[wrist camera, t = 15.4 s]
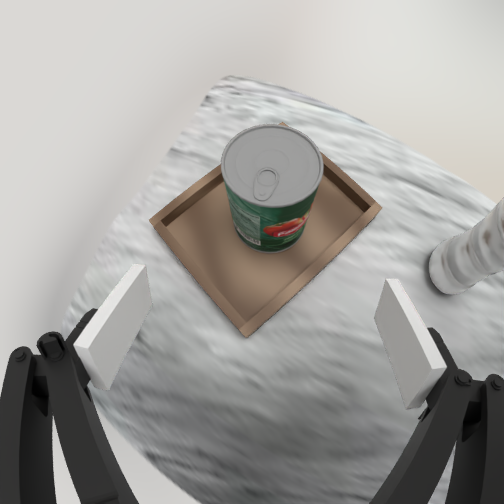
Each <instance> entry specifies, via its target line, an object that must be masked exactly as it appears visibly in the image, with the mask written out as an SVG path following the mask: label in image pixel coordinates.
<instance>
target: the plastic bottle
mask: <svg viewBox="0 0 504 504" xmlns="http://www.w3.org/2000/svg"><path fill="white" fill-rule="evenodd" d="M503 270H504V198H503V199H502V200H501V201H500V202H499V203H498V204H497V205H496V206H495V208H494V209H493V210H492V211H491V212H490V213H489V214H488V215H487V216H486V217H485V218H484V219H483V220H481V221H480V222H479V223H478V224H477V225H475V226H474V227H473V228H471V229H469V230H468V231H466V232H464V233H462V234H460V235H458V236H454V237H451V238H449V239H447V240H444V241H443V242H441V243H440V244H439V245H438V246H437V247H436V249H435V250H434V251H433V253H432V254H431V257H430V261H429V273H430V277H431V280H432V282H433V284H434V285H435V286H436V287H437V288H438V289H439V290H440V291H441V292H443V293H445V294H460V293H463V292H465V291H466V290H468V289H469V288H471V287H472V286H474V285H475V284H476V283H477V282H479V281H481V280H483V279H484V278H486V277H488V276H490V275H492V274H495V273H497V272H501V271H503Z"/></svg>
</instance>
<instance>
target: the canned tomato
mask: <svg viewBox="0 0 504 504" xmlns="http://www.w3.org/2000/svg"><path fill="white" fill-rule="evenodd" d="M221 172H222V176H223V178H224V183H225V187H226V192H227V196H228V201H229V205H230V209H231V214H232V218H233V224H234V228H235V231H236V233H237V235H238V237H239V238H240V240H241V241H242V242H243V243H244V244H245V245H247V246H248V247H249V248H251V249H253V250H255V251H258V252H261V253H278V252H282V251H285V250H287V249H289V248H291V247H292V246H293V245H295V244H296V243H297V241H298V240H299V239H300V238H301V236H302V234H303V232H304V229H305V226H306V223H307V220H308V217H309V214H310V211H311V208H312V205H313V202H314V199H315V196H316V193H317V190H318V186H319V183H320V181H321V179H322V175H323V159H322V155H321V153H320V151H319V149H318V147H317V146H316V145H315V143H314V142H313V141H312V140H311V139H310V138H309V137H308V136H306V135H305V134H303V133H302V132H300V131H298V130H296V129H293V128H291V127H287V126H284V125H277V124H263V125H258V126H254V127H251V128H248V129H246V130H244V131H242V132H240V133H238V134H237V135H236V136H235V137H234V138H232V139H231V141H230V142H229V143H228V144H227V145H226V147H225V149H224V151H223V154H222V158H221Z"/></svg>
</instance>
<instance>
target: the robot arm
mask: <svg viewBox="0 0 504 504" xmlns="http://www.w3.org/2000/svg"><path fill="white" fill-rule="evenodd" d="M152 306H153V303H152V298H151V293H150V287H149V282H148V276H147V270H146V265H141V264H133V265H132V266H131V268H130V269H129V270H128V271H127V273H126V274H125V275H124V276H123V278H122V279H121V280H120V282H119V283H118V284H117V285H116V287H115V288H114V289H113V291H112V292H111V293H110V295H109V296H108V297H107V299H106V300H105V301H104V302H103V304H102V305H101V307H100V308H99V309H94V308H93V309H91V310H90V311H89V312H87V313H86V314H85V315H84V316H83V317H82V319H81V320H80V322H79V323H78V324H77V325H76V328H74V330H73V331H72V332H71V334H70V335H69V336H68V338H67V339H66V341H64V339H63V337H62V335H61V334H60V333H58V332H48V333H46V334H44V335H42V336H41V337H40V338H39V340H38V341H37V348H38V349H39V351H40V353H41V355H33V353H32V352H31V350H30V349H29V348H28V347H24V346H22V347H19V348H17V349H15V350H14V351H13V352H12V353H11V355H10V358H9V362H8V365H7V369H6V374H5V378H4V382H3V387H2V392H1V397H0V504H57V503H56V495H55V485H54V472H53V451H52V419H53V416H54V420H55V425H56V429H57V433H58V436H59V440H60V444H61V447H62V451H63V454H64V457H65V460H66V464H67V467H68V470H69V473H70V475H71V478H72V481H73V484H74V487H75V489H76V492H77V494H78V497H79V499H80V502H81V504H139V503H138V501H137V499H136V498H135V496H134V494H133V492H132V490H131V488H130V487H129V485H128V483H127V481H126V479H125V477H124V475H123V473H122V471H121V469H120V467H119V464H118V463H117V460H116V458H115V456H114V454H113V451H112V449H111V447H110V444H109V442H108V440H107V437H106V435H105V432H104V430H103V427H102V425H101V422H100V419H99V417H98V414H97V411H96V408H95V405H94V402H93V399H92V396H91V393H90V390H89V388H88V386H87V384H88V383H89V381H90V380H91V382H92V384H93V385H94V387H95V388H99V389H102V390H106V391H109V389H110V387H111V385H112V383H113V381H114V379H115V377H116V374H117V372H118V370H119V368H120V366H121V364H122V363H123V361H124V359H125V357H126V355H127V353H128V351H129V349H130V347H131V345H132V343H133V341H134V339H135V337H136V335H137V334H138V332H139V330H140V328H141V326H142V324H143V322H144V320H145V319H146V317H147V315H148V313H149V311H150V309H151V308H152ZM374 320H375V322H376V325H377V327H378V330H379V333H380V335H381V338H382V340H383V343H384V346H385V349H386V351H387V354H388V357H389V360H390V362H391V365H392V368H393V371H394V374H395V377H396V380H397V383H398V386H399V389H400V392H401V395H402V398H403V401H404V405H405V408H406V409H412V408H418V407H420V406H421V405H422V404H423V402H424V401H425V399H426V401H427V404H428V406H427V408H426V409H425V410H424V412H423V413H422V414H421V415H420V417H419V418H418V419H419V420H420V421H419V423H418V425H417V427H416V429H415V431H414V433H413V435H412V437H411V439H410V440H409V442H408V444H407V446H406V448H405V449H404V451H403V453H402V455H401V456H400V458H399V460H398V461H397V463H396V465H395V466H394V468H393V470H392V471H391V473H390V474H389V476H388V477H387V479H386V480H385V482H384V483H383V485H382V486H381V488H380V489H379V491H378V492H377V494H376V495H375V496H374V498H373V499H372V501H371V502H370V503H369V504H427V503H428V501H429V500H430V498H431V496H432V494H433V492H434V490H435V488H436V486H437V484H438V482H439V480H440V478H441V476H442V473H443V471H444V469H445V467H446V464H447V462H448V460H449V457H450V455H451V452H452V450H453V447H454V445H455V442H456V449H455V456H454V462H453V468H452V474H451V479H450V484H449V489H448V493H447V497H446V502H445V504H504V379H503V378H502V377H500V376H499V375H497V374H491V375H489V376H488V377H487V378H486V380H485V381H478V380H473V379H472V377H471V376H470V375H469V373H467V372H466V371H464V370H461V369H458V368H457V366H456V364H455V362H454V360H453V358H452V356H451V354H450V352H449V350H448V349H447V347H446V345H445V343H443V342H444V341H443V340H442V338H441V336H440V334H439V333H438V332H437V331H436V330H435V329H433V328H426V326H425V324H424V322H423V320H422V319H421V317H420V315H419V313H418V312H417V310H416V308H415V306H414V305H413V303H412V301H411V300H410V298H409V296H408V295H407V293H406V291H405V290H404V288H403V286H402V285H401V283H400V282H399V280H398V279H386V280H385V284H384V287H383V291H382V294H381V297H380V300H379V304H378V307H377V310H376V313H375V316H374ZM456 439H457V441H456Z"/></svg>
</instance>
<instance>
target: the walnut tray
mask: <svg viewBox="0 0 504 504" xmlns="http://www.w3.org/2000/svg"><path fill="white" fill-rule="evenodd" d="M279 125H284V126H287V125H286V124H285V123H283V122H282V123H280V124H279ZM287 127H289V126H287ZM320 153H321V152H320ZM321 155H322V159H323V175H322V179H321V181H320V183H319V186H318V190H317V193H316V196H315V199H314V202H313V205H312V208H311V211H310V214H309V217H308V220H307V223H306V226H305V229H304V232H303V234H302V236H301V238H300V239H299V240H298V241H297V243H296V244H295V245H293V246H292V247H291V248H289V249H287V250H285V251H282V252H278V253H261V252H258V251H255V250H253V249H251V248H249V247H248V246H247V245H245V244H244V243H243V242H242V241H241V240H240V238H239V237H238V235H237V233H236V231H235V228H234V224H233V218H232V214H231V209H230V205H229V201H228V196H227V192H226V187H225V183H224V178H223V176H222V172H221V164H220V165H219V166H217V167H216V168H215V169H213V170H212V171H211V172H209V173H208V174H207V175H205V176H204V177H203V178H201V179H200V180H199V181H197V182H196V183H195V184H193V185H192V186H191V187H189V188H188V189H187V190H186V191H184V192H183V193H182V194H180V195H179V196H178V197H177V198H175V199H174V200H173V201H172V202H170V203H169V204H168V205H167V206H165V207H164V208H163V209H162V210H160V211H159V212H158V213H157V214H155V215H154V216H153V217H152V218H151V219H149V221H150V223H151V224H152V225H153V227H154V228H155V229H156V231H157V232H158V233H159V234H160V236H161V237H162V238H163V240H164V241H165V242H166V243H167V245H168V246H169V247H170V248H171V250H172V251H173V252H174V253H175V255H176V256H177V257H178V258H179V260H180V261H181V262H182V263H183V265H184V266H185V267H186V268H187V269H188V271H189V272H190V273H191V274H192V276H193V277H194V278H195V279H196V280H197V282H198V283H199V284H200V285H201V286H202V288H203V289H204V290H205V291H206V292H207V294H208V295H209V296H210V297H211V298H212V299H213V301H214V302H215V303H216V304H217V305H218V306H219V308H220V309H221V310H222V311H223V312H224V313H225V315H226V316H227V317H228V318H229V319H230V320H231V321H232V323H233V324H234V325H235V326H236V327H237V328H238V329H239V330H240V332H241V333H242V334H243V335H244V336H245V337H246V338H248V337H249V336H250V335H251V334H253V333H254V332H255V331H256V330H257V329H258V328H259V327H261V326H262V325H263V324H264V323H265V322H266V321H267V320H268V319H270V318H271V317H272V316H273V315H274V314H275V313H276V312H277V311H279V310H280V309H281V308H282V307H283V306H284V305H285V304H286V303H287V302H288V301H290V300H291V299H292V298H293V297H294V296H295V295H296V294H297V293H298V292H299V291H300V290H301V289H303V288H304V287H305V286H306V285H307V284H308V283H309V282H310V281H311V280H312V279H313V278H314V277H315V276H316V275H317V274H318V273H319V272H320V271H322V270H323V269H324V268H325V267H326V266H327V265H328V264H329V263H330V262H331V261H332V260H333V259H334V258H335V257H336V256H337V255H338V254H339V253H340V252H341V251H342V250H343V249H344V248H345V247H346V246H347V245H348V244H349V243H350V242H351V241H352V240H353V239H354V238H355V237H356V236H357V235H358V234H359V233H360V232H361V231H362V230H363V229H364V228H365V227H366V226H367V225H368V224H369V223H370V222H371V221H372V220H373V219H374V218H375V216H376V215H377V214H378V213H379V211H380V210H381V209H382V207H381V206H380V205H379V204H378V203H377V202H376V201H375V200H374V199H373V198H372V197H371V196H370V195H369V194H368V193H367V192H366V191H364V190H363V189H362V188H361V187H360V186H359V185H358V184H357V183H356V182H355V181H354V180H352V179H351V178H350V177H349V176H348V175H347V174H346V173H345V172H343V171H342V170H341V169H340V168H339V167H338V166H337V165H335V164H334V163H333V162H332V161H331V160H330V159H328V158H327V157H326V156H325V155H324V154H322V153H321Z"/></svg>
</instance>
